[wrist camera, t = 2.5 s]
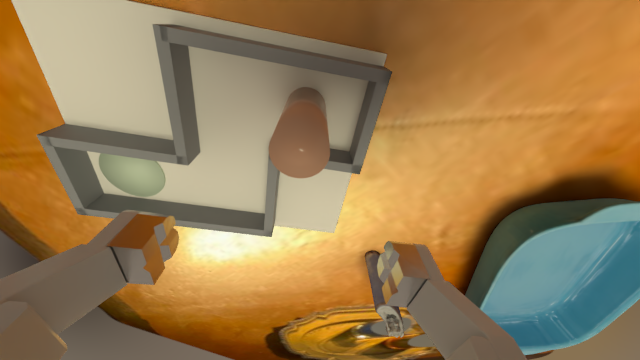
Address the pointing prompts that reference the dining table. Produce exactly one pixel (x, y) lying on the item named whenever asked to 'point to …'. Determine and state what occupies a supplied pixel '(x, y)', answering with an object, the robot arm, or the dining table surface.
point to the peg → (301, 135)
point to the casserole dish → (560, 271)
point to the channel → (197, 111)
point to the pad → (133, 174)
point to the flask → (385, 311)
